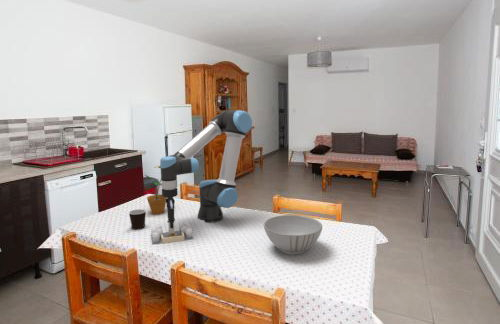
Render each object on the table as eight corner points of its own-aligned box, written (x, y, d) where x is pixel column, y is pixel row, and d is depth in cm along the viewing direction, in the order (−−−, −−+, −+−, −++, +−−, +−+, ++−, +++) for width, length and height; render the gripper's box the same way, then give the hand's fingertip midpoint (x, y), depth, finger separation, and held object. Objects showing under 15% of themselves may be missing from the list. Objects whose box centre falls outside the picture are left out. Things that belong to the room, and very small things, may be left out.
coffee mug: (141, 232, 181) (140, 214, 179) (127, 231, 182) (125, 213, 181) (152, 225, 192) (151, 208, 190) (138, 224, 194) (137, 207, 192)
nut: (167, 237, 171) (167, 233, 171) (177, 236, 172) (176, 232, 172) (168, 240, 167) (167, 236, 167) (178, 239, 169) (178, 235, 168)
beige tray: (189, 231, 182) (189, 221, 181) (194, 241, 169) (193, 230, 168) (150, 236, 176) (150, 225, 175) (152, 247, 163) (151, 235, 162)
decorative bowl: (308, 267, 141) (308, 240, 139) (253, 253, 155) (252, 227, 153) (329, 244, 164) (330, 220, 161) (279, 234, 178) (280, 211, 175)
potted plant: (163, 206, 227) (160, 162, 222) (177, 212, 213) (175, 165, 208) (137, 212, 215) (134, 165, 210) (151, 219, 201) (148, 169, 196)
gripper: (160, 185, 173) (163, 229, 177) (162, 192, 161) (165, 239, 165) (175, 184, 175) (177, 228, 179) (178, 190, 163) (181, 237, 167)
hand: (171, 233), depth 172 cm, fingers closed
